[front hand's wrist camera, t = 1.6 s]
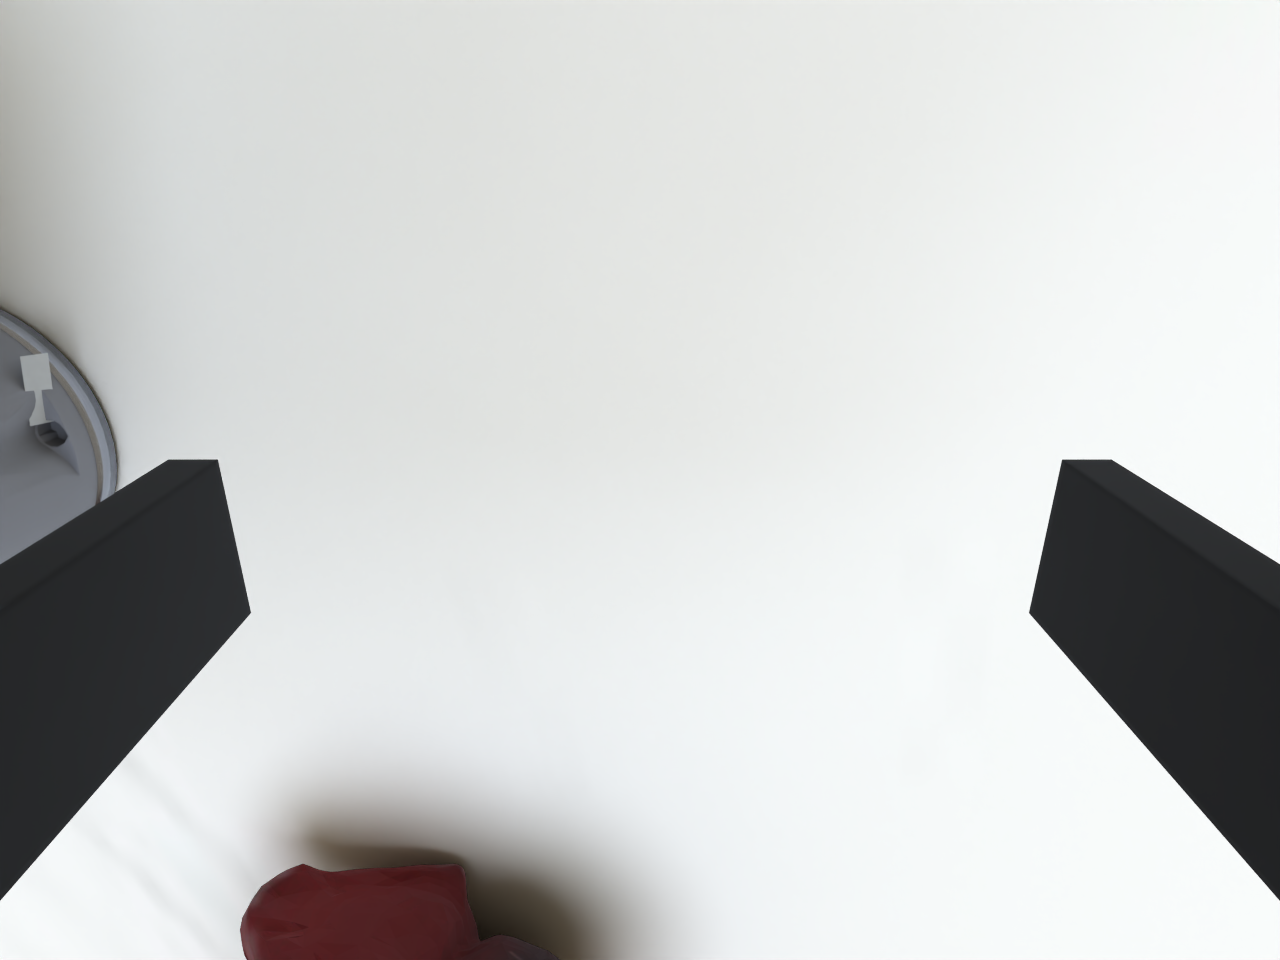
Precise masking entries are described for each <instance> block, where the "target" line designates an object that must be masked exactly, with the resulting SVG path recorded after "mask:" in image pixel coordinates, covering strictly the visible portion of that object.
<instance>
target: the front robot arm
mask: <svg viewBox="0 0 1280 960" xmlns="http://www.w3.org/2000/svg"><path fill="white" fill-rule="evenodd" d="M116 478H117V464H116V453H115V448H114V442H113V439H112V435H111V431H110V428H109V425H108V423H107V420H106V418H105V415H104V413H103V411H102V409H101V407H100V405H99V403H98V401H97V399H96V397H95V396H94V394H93V392H92V391H91V389H90V387H89V386H88V384H87V383H86V382H85V380H84V379H83V377H82V376H81V375H80V373H79V372H78V371H77V370H76V369H75V367H74V366H73V365H72V364H71V363H70V361H69V360H68V359H67V358H66V357H65V356H64V355H63V354H62V353H61V352H60V351H59V350H58V349H57V348H56V347H55V346H54V345H52V344H51V343H50V342H49V341H48V340H47V339H46V338H44V337H43V336H42V335H41V334H39V333H38V332H37V331H35V330H34V329H33V328H31V327H30V326H28V325H27V324H25V323H24V322H22V321H21V320H19V319H18V318H16V317H14V316H13V315H11V314H9V313H7V312H5V311H4V310H2V309H0V900H1V899H2V898H3V897H4V896H5V894H6V893H7V892H8V891H9V890H10V889H11V888H12V886H13V885H14V884H15V883H16V882H17V881H18V880H19V878H20V877H21V876H22V875H23V874H24V873H25V872H26V870H27V869H28V868H29V867H30V866H31V865H32V863H33V862H34V861H35V860H36V859H37V858H38V857H39V855H40V854H41V853H42V852H43V851H44V850H45V849H46V847H47V846H48V845H49V844H50V843H51V842H52V841H53V839H54V838H55V837H56V836H57V835H58V834H59V833H60V831H61V830H62V829H63V828H64V827H65V826H66V824H67V823H68V822H69V821H70V820H71V819H72V818H73V816H74V815H75V814H76V813H77V812H78V811H79V810H80V808H81V807H82V806H83V805H84V804H85V803H86V802H87V800H88V799H89V798H90V797H91V796H92V795H93V793H94V792H95V791H96V790H97V789H98V788H99V787H100V785H101V784H102V783H103V782H104V781H105V780H106V779H107V777H108V776H109V775H110V774H111V773H112V772H113V771H114V769H115V768H116V767H117V766H118V765H119V764H120V763H121V761H122V760H123V759H124V758H125V757H126V756H127V754H128V753H129V752H130V751H131V750H132V749H133V748H134V746H135V745H136V744H137V743H138V742H139V741H140V740H141V738H142V737H143V736H144V735H145V734H146V733H147V732H148V730H149V729H150V728H151V727H152V726H153V725H154V724H155V722H156V721H157V720H158V719H159V718H160V717H161V715H162V714H163V713H164V712H165V711H166V710H167V709H168V707H169V706H170V705H171V704H172V703H173V702H174V701H175V699H176V698H177V697H178V696H179V695H180V694H181V693H182V691H183V690H184V689H185V688H186V687H187V686H188V684H189V683H190V682H191V681H192V680H193V679H194V678H195V676H196V675H197V674H198V673H199V672H200V671H201V670H202V668H203V667H204V666H205V665H206V664H207V663H208V662H209V660H210V659H211V658H212V657H213V656H214V655H215V654H216V652H217V651H218V650H219V649H220V648H221V647H222V645H223V644H224V643H225V642H226V641H227V640H228V639H229V637H230V636H231V635H232V634H233V633H234V632H235V631H236V629H237V628H238V627H239V626H240V625H241V624H242V623H243V621H244V620H245V619H246V618H247V617H248V616H249V615H250V613H251V611H250V606H249V602H248V597H247V593H246V588H245V583H244V579H243V574H242V569H241V565H240V560H239V556H238V551H237V546H236V542H235V537H234V532H233V528H232V523H231V519H230V514H229V509H228V505H227V500H226V495H225V491H224V486H223V482H222V477H221V472H220V468H219V463H218V460H167V461H166V462H164V463H162V464H161V465H159V466H158V467H156V468H154V469H153V470H151V471H149V472H148V473H146V474H145V475H143V476H141V477H140V478H138V479H137V480H135V481H133V482H132V483H130V484H129V485H127V486H125V487H124V488H122V489H121V490H119V491H117V492H116V493H115V487H116ZM1029 613H1030V615H1031V616H1032V617H1033V618H1034V619H1035V620H1036V621H1037V623H1038V624H1039V625H1040V626H1041V627H1042V628H1043V629H1044V631H1045V632H1046V633H1047V634H1048V635H1049V636H1050V637H1051V639H1052V640H1053V641H1054V642H1055V643H1056V644H1057V645H1058V647H1059V648H1060V649H1061V650H1062V651H1063V652H1064V654H1065V655H1066V656H1067V657H1068V658H1069V659H1070V660H1071V662H1072V663H1073V664H1074V665H1075V666H1076V667H1077V668H1078V670H1079V671H1080V672H1081V673H1082V674H1083V675H1084V676H1085V678H1086V679H1087V680H1088V681H1089V682H1090V683H1091V684H1092V686H1093V687H1094V688H1095V689H1096V690H1097V691H1098V693H1099V694H1100V695H1101V696H1102V697H1103V698H1104V699H1105V701H1106V702H1107V703H1108V704H1109V705H1110V706H1111V707H1112V709H1113V710H1114V711H1115V712H1116V713H1117V714H1118V715H1119V717H1120V718H1121V719H1122V720H1123V721H1124V722H1125V724H1126V725H1127V726H1128V727H1129V728H1130V729H1131V730H1132V732H1133V733H1134V734H1135V735H1136V736H1137V737H1138V738H1139V740H1140V741H1141V742H1142V743H1143V744H1144V745H1145V746H1146V748H1147V749H1148V750H1149V751H1150V752H1151V753H1152V754H1153V756H1154V757H1155V758H1156V759H1157V760H1158V761H1159V763H1160V764H1161V765H1162V766H1163V767H1164V768H1165V769H1166V771H1167V772H1168V773H1169V774H1170V775H1171V776H1172V777H1173V779H1174V780H1175V781H1176V782H1177V783H1178V784H1179V785H1180V787H1181V788H1182V789H1183V790H1184V791H1185V792H1186V794H1187V795H1188V796H1189V797H1190V798H1191V799H1192V800H1193V802H1194V803H1195V804H1196V805H1197V806H1198V807H1199V808H1200V810H1201V811H1202V812H1203V813H1204V814H1205V815H1206V816H1207V818H1208V819H1209V820H1210V821H1211V822H1212V823H1213V824H1214V826H1215V827H1216V828H1217V829H1218V830H1219V831H1220V833H1221V834H1222V835H1223V836H1224V837H1225V838H1226V839H1227V841H1228V842H1229V843H1230V844H1231V845H1232V846H1233V847H1234V849H1235V850H1236V851H1237V852H1238V853H1239V854H1240V855H1241V857H1242V858H1243V859H1244V860H1245V861H1246V862H1247V863H1248V865H1249V866H1250V867H1251V868H1252V869H1253V870H1254V872H1255V873H1256V874H1257V875H1258V876H1259V877H1260V878H1261V880H1262V881H1263V882H1264V883H1265V884H1266V885H1267V886H1268V888H1269V889H1270V890H1271V891H1272V892H1273V893H1274V894H1275V896H1276V897H1277V898H1278V899H1279V900H1280V564H1278V563H1277V562H1275V561H1274V560H1272V559H1270V558H1269V557H1267V556H1266V555H1264V554H1262V553H1261V552H1259V551H1258V550H1256V549H1254V548H1253V547H1251V546H1250V545H1248V544H1246V543H1245V542H1243V541H1241V540H1240V539H1238V538H1237V537H1235V536H1233V535H1232V534H1230V533H1229V532H1227V531H1225V530H1224V529H1222V528H1221V527H1219V526H1217V525H1216V524H1214V523H1213V522H1211V521H1209V520H1208V519H1206V518H1204V517H1203V516H1201V515H1200V514H1198V513H1196V512H1195V511H1193V510H1192V509H1190V508H1188V507H1187V506H1185V505H1184V504H1182V503H1180V502H1179V501H1177V500H1176V499H1174V498H1172V497H1171V496H1169V495H1167V494H1166V493H1164V492H1163V491H1161V490H1159V489H1158V488H1156V487H1155V486H1153V485H1151V484H1150V483H1148V482H1147V481H1145V480H1143V479H1142V478H1140V477H1139V476H1137V475H1135V474H1134V473H1132V472H1131V471H1129V470H1127V469H1126V468H1124V467H1122V466H1121V465H1119V464H1118V463H1116V462H1114V461H1113V460H1062V463H1061V468H1060V472H1059V477H1058V482H1057V486H1056V491H1055V495H1054V500H1053V505H1052V509H1051V514H1050V519H1049V523H1048V528H1047V532H1046V537H1045V542H1044V546H1043V551H1042V556H1041V560H1040V565H1039V569H1038V574H1037V579H1036V583H1035V588H1034V593H1033V597H1032V602H1031V606H1030V611H1029Z"/></svg>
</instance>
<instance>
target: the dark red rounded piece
mask: <svg viewBox="0 0 1280 960" xmlns="http://www.w3.org/2000/svg"><path fill="white" fill-rule="evenodd" d="M240 933H241V940H242V946H243V951H244V955H245V957H246V959H247V960H559V959H558V958H557V957H556V956H554V955H553V954H552V953H550V952H549V951H547V950H545V949H542V948H539V947H537V946H534V945H532V944H530V943H527V942H525V941H523V940H520V939H518V938H515V937H510V936H506V935H496V936H493V937H490V938H488V939H485V940H483V941H481V940H480V939H479V935H478V929H477V924H476V922H475V919H474V916H473V913H472V911H471V908H470V905H469V903H468V900H467V888H466V875H465V871H464V869H463V868H462V867H461V866H460V865H457V864H444V865H414V866H405V867H396V868H368V869H354V870H347V871H339V872H328V871H322V870H318V869H315V868H313V867H310V866H308V865H305V864H301V865H298V866H296V867H293V868H291V869H288V870H286V871H284V872H282V873H280V874H279V875H277V876H276V877H274V878H273V879H271V880H270V881H269V882H267V883H266V884H264V885H263V886H261V888H260V889H259V891H258V892H257V893H256V895H255V896H254V898H253V899H252V901H251V903H250V905H249V906H248V908H247V910H246V912H245V914H244V916H243V918H242V923H241V928H240Z"/></svg>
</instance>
